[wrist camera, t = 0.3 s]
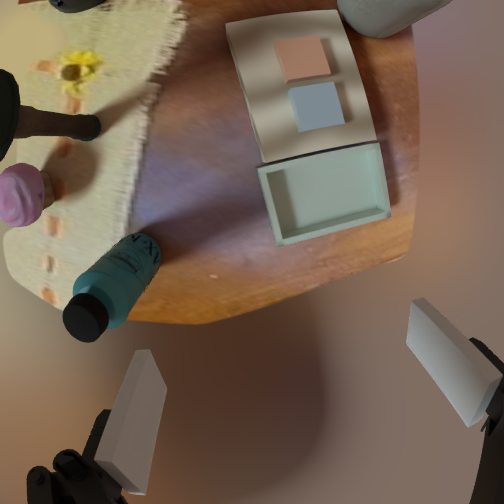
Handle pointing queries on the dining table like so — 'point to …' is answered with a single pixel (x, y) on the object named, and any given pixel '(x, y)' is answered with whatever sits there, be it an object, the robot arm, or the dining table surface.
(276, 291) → the dining table surface
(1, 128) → the potato masher grenade
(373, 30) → the grey tall rounded cylinder
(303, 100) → the tile slate
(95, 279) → the beverage bottle
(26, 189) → the cupcake
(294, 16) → the board
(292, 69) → the tile terracotta
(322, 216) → the tray
